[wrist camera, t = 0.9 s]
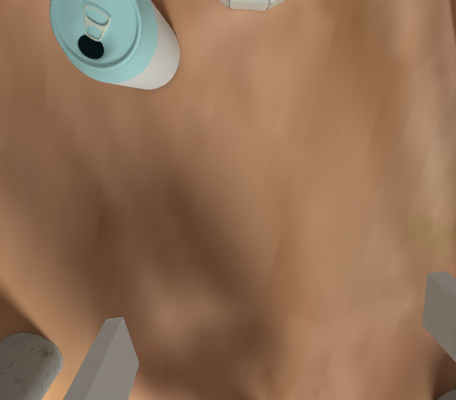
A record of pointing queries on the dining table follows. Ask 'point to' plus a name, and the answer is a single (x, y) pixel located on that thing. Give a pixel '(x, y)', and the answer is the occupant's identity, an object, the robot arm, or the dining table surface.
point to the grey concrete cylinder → (27, 366)
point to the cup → (448, 395)
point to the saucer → (251, 4)
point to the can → (117, 41)
